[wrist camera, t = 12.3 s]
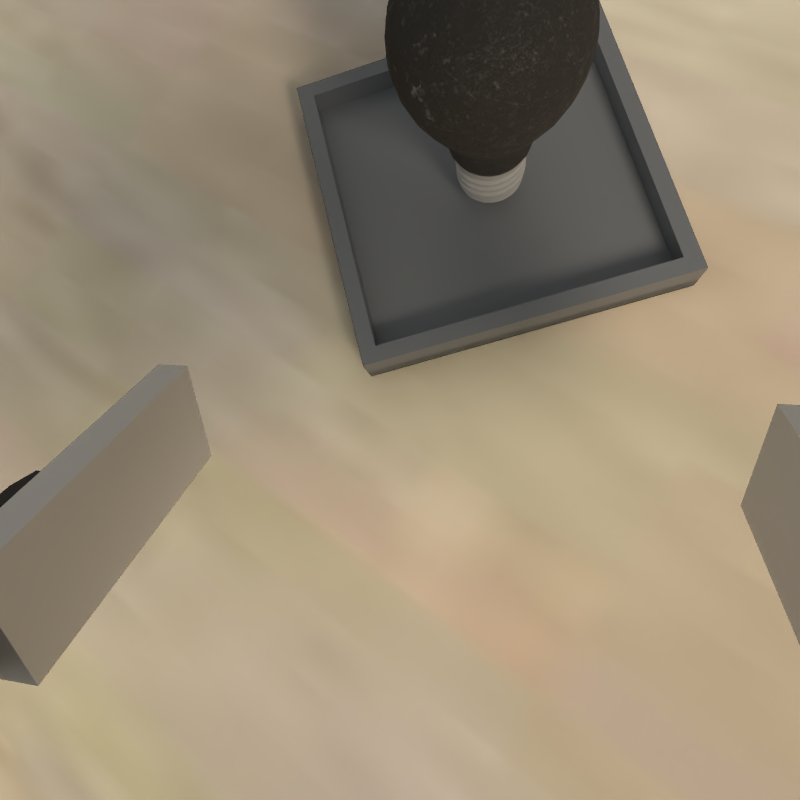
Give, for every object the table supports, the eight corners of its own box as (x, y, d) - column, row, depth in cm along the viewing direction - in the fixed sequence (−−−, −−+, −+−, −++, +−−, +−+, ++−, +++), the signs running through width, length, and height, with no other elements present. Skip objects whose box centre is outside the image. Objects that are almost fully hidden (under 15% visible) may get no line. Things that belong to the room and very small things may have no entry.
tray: (588, 20, 24) (593, -13, 23) (693, 285, 21) (708, 267, 20) (308, 113, 25) (296, 88, 24) (371, 376, 22) (363, 365, 21)
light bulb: (438, 111, 23) (400, -174, 14) (579, 131, 22) (646, -166, 13) (402, 238, 23) (333, 28, 13) (547, 265, 21) (591, 57, 12)
